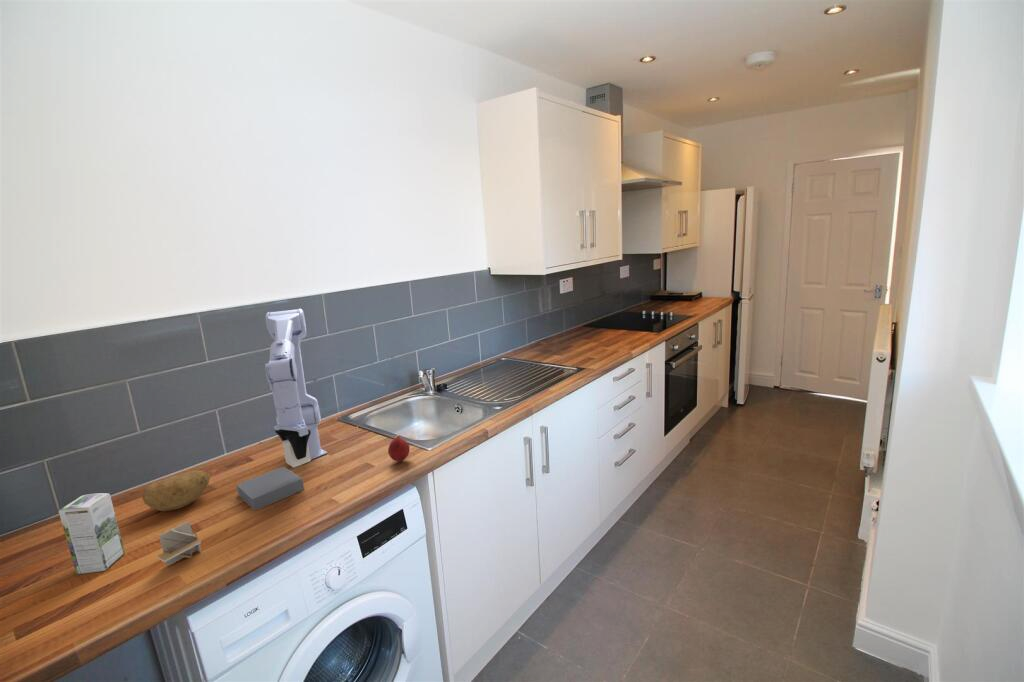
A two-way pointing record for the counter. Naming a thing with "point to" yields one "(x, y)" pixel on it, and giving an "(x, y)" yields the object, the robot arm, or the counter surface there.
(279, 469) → the riser block
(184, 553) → the architectural model
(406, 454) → the onion
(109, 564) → the syrup box
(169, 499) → the potato
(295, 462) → the cream block
